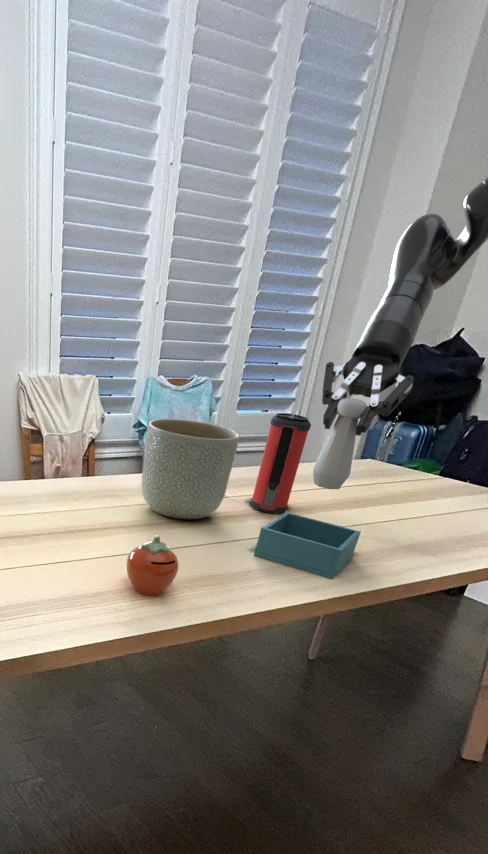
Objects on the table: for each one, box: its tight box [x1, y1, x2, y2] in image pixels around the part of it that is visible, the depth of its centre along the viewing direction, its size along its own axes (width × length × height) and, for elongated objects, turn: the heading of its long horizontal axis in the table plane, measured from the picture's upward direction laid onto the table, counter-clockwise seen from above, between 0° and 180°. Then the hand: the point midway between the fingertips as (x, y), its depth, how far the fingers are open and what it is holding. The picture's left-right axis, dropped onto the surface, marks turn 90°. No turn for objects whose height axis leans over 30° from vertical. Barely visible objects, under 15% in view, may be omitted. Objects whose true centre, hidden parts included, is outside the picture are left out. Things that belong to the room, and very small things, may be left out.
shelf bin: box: [253, 511, 362, 579], centre depth 109 cm, size 14×14×5 cm
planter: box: [140, 418, 241, 521], centre depth 121 cm, size 17×17×15 cm
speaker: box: [249, 412, 312, 515], centre depth 129 cm, size 8×8×18 cm
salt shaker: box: [312, 397, 368, 490], centre depth 101 cm, size 6×6×13 cm
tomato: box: [126, 535, 180, 597], centre depth 89 cm, size 7×7×8 cm
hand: (342, 428), depth 98 cm, fingers closed on salt shaker, 4 cm apart
